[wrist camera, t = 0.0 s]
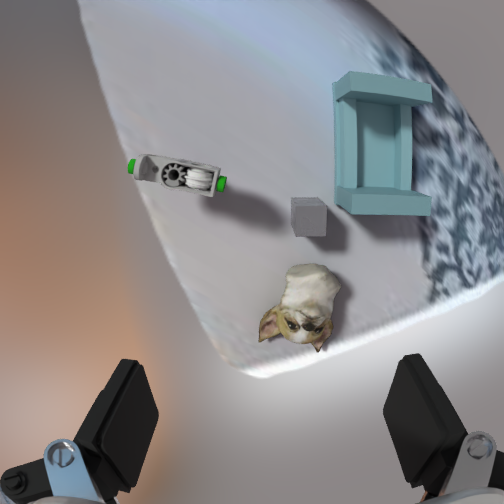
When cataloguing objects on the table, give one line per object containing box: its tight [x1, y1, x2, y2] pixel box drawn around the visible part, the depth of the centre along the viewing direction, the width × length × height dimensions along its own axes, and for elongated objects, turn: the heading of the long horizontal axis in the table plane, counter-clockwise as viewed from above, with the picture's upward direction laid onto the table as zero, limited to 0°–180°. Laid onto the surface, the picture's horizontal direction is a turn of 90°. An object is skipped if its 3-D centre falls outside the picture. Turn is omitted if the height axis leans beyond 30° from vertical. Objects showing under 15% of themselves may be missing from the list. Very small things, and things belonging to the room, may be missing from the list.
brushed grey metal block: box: [291, 198, 327, 237], centre depth 36 cm, size 4×4×6 cm
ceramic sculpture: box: [259, 264, 341, 352], centre depth 40 cm, size 11×9×15 cm
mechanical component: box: [128, 154, 227, 197], centre depth 33 cm, size 3×10×10 cm, turn 77°
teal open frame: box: [333, 71, 432, 216], centre depth 32 cm, size 16×10×8 cm, turn 2°
